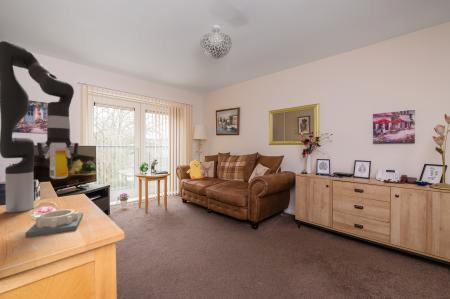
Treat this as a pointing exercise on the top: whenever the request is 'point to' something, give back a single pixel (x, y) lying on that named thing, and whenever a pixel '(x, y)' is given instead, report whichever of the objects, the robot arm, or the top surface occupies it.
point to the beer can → (58, 161)
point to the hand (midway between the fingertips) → (59, 166)
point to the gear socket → (55, 222)
